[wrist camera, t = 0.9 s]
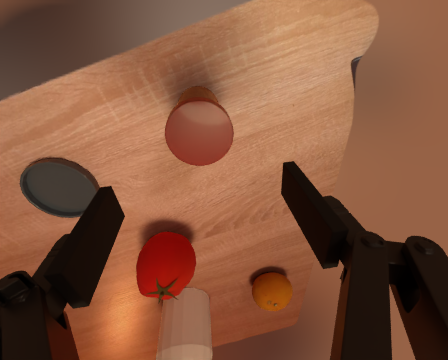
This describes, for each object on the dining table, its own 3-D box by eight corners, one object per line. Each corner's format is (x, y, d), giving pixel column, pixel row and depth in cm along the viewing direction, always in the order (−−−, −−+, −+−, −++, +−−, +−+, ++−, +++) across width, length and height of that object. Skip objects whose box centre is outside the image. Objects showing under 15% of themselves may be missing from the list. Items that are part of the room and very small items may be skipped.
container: (170, 284, 58) (159, 382, 42) (216, 290, 62) (224, 382, 46) (157, 310, 65) (144, 405, 48) (200, 314, 68) (202, 403, 52)
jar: (169, 98, 33) (159, 122, 23) (207, 78, 32) (212, 94, 23) (191, 134, 36) (189, 167, 27) (225, 116, 36) (236, 145, 26)
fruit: (265, 261, 58) (275, 290, 51) (293, 272, 62) (305, 300, 55) (242, 283, 62) (247, 312, 55) (269, 291, 66) (277, 320, 59)
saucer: (10, 163, 36) (3, 167, 34) (83, 153, 36) (79, 157, 35) (48, 216, 42) (44, 221, 41) (110, 207, 43) (107, 212, 41)
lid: (153, 116, 24) (150, 121, 23) (213, 83, 23) (215, 87, 22) (188, 168, 28) (187, 175, 27) (241, 142, 27) (243, 148, 26)
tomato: (129, 234, 47) (109, 294, 36) (179, 211, 45) (173, 267, 34) (161, 262, 53) (152, 321, 42) (205, 243, 51) (208, 299, 40)
